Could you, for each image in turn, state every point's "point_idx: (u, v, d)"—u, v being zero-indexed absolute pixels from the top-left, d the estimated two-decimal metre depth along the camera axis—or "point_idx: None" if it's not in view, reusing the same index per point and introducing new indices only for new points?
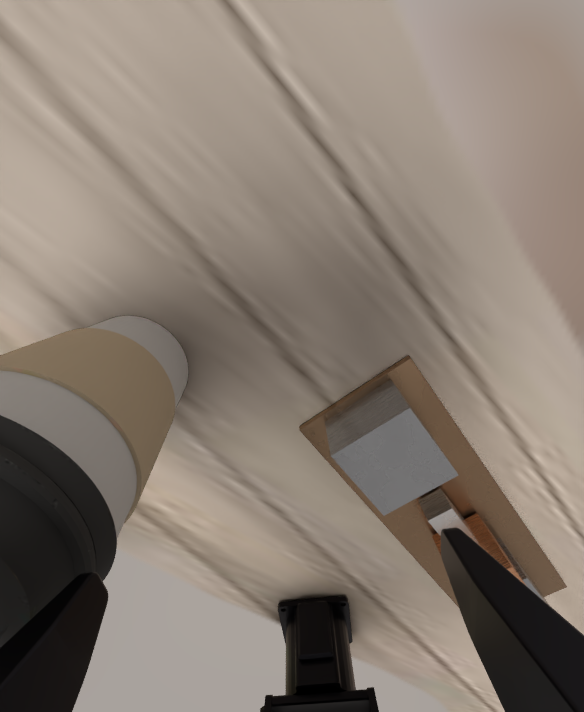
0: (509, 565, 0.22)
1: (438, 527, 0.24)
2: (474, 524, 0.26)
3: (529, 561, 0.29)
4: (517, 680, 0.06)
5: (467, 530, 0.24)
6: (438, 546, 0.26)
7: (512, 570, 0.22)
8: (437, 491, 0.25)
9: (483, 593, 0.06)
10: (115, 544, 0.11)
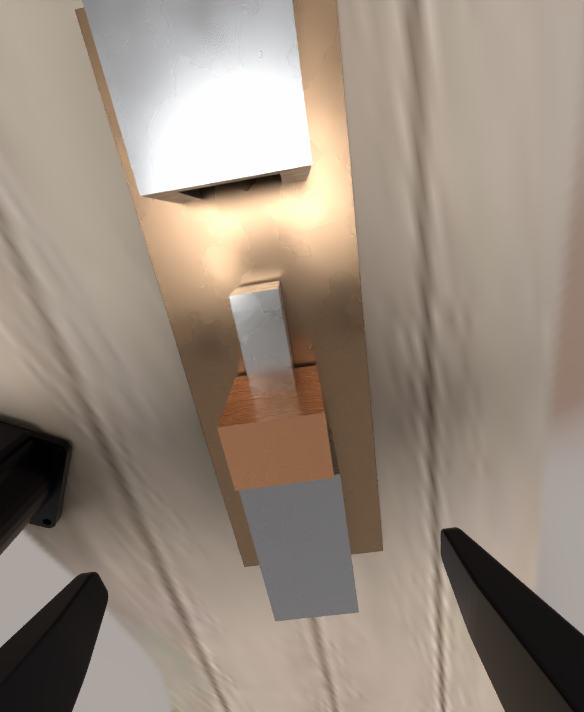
0: (322, 411, 0.12)
1: (242, 320, 0.13)
2: (304, 373, 0.15)
3: (353, 489, 0.19)
4: (517, 680, 0.06)
5: (286, 351, 0.14)
6: (235, 385, 0.15)
7: (323, 421, 0.12)
8: (272, 282, 0.14)
9: (483, 593, 0.06)
10: None
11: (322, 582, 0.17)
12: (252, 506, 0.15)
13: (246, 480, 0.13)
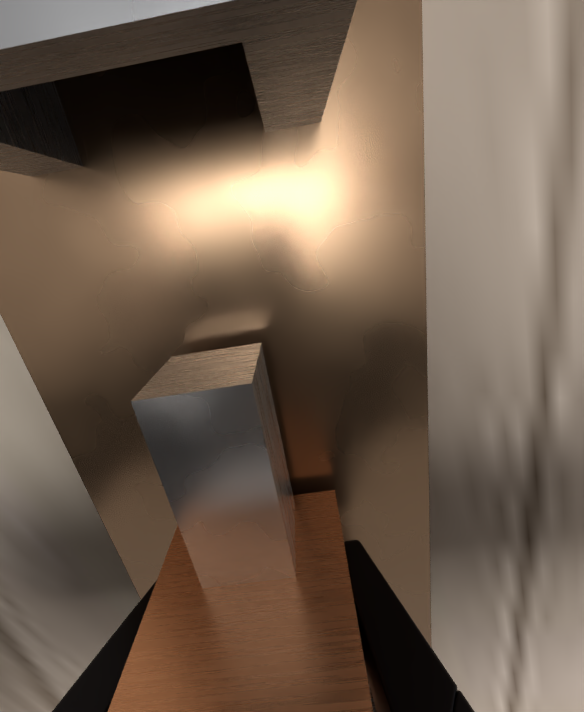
0: None
1: (168, 453, 0.05)
2: (312, 515, 0.08)
3: None
4: (377, 694, 0.06)
5: (275, 512, 0.06)
6: (176, 543, 0.08)
7: None
8: (245, 346, 0.07)
9: (356, 607, 0.06)
10: None
11: None
12: None
13: None
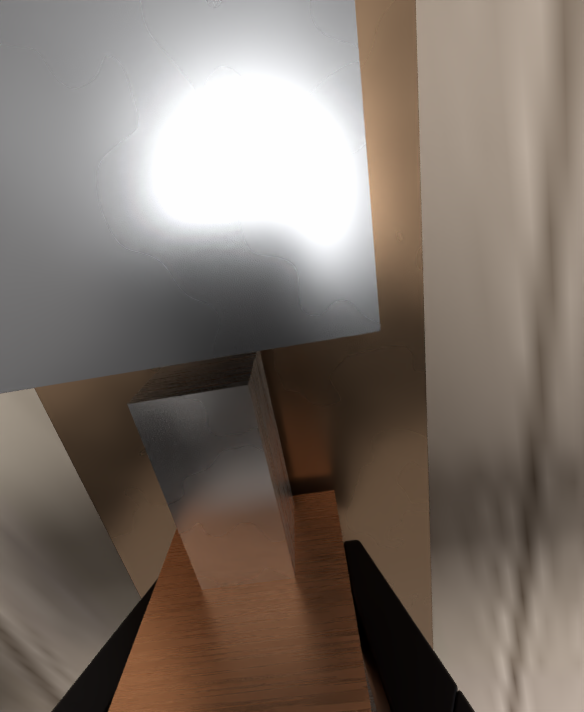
0: None
1: (166, 455, 0.05)
2: (312, 516, 0.08)
3: None
4: (378, 694, 0.06)
5: (274, 513, 0.06)
6: (175, 544, 0.08)
7: None
8: None
9: (357, 607, 0.06)
10: None
11: None
12: None
13: None
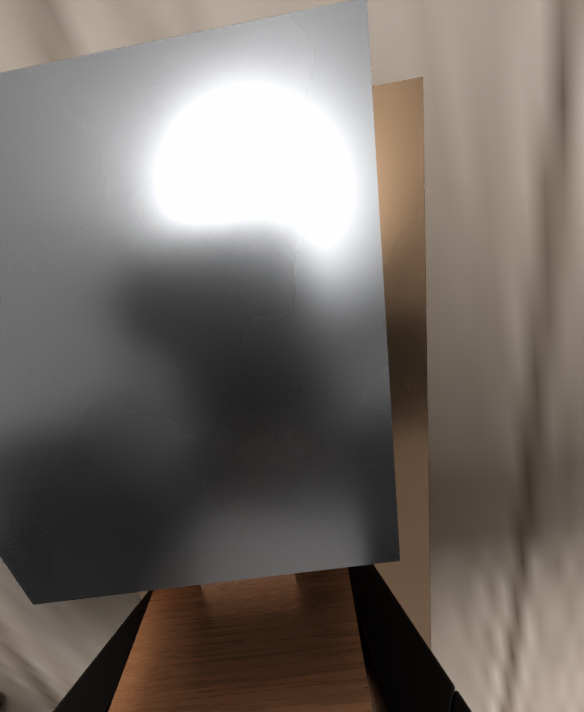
0: None
1: None
2: None
3: None
4: (376, 694, 0.06)
5: None
6: None
7: None
8: None
9: (355, 608, 0.06)
10: None
11: None
12: None
13: None
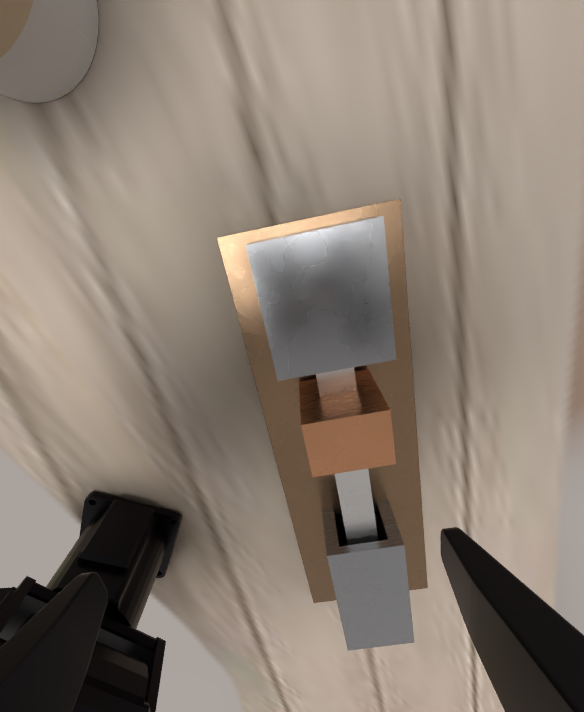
0: (387, 408, 0.15)
1: None
2: (360, 376, 0.18)
3: (404, 542, 0.24)
4: (517, 680, 0.06)
5: None
6: (301, 389, 0.18)
7: (388, 416, 0.15)
8: None
9: (483, 593, 0.06)
10: None
11: (386, 621, 0.22)
12: (336, 569, 0.20)
13: (322, 468, 0.16)
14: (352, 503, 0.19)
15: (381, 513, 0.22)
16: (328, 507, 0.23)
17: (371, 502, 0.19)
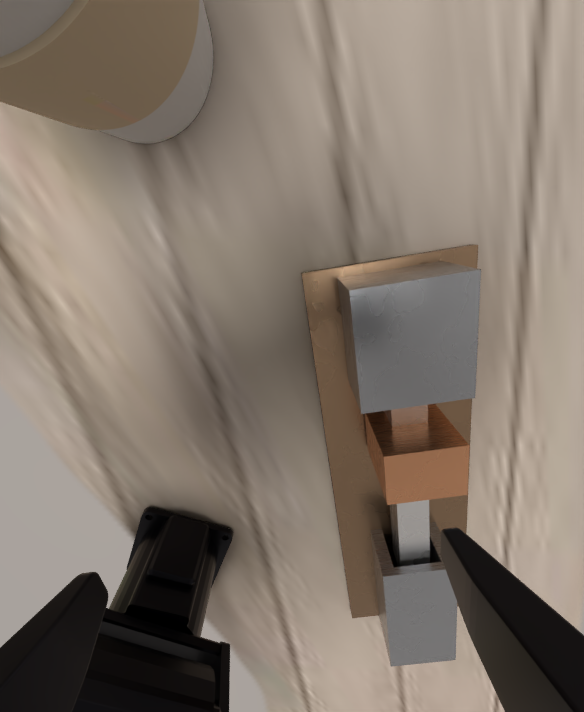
0: (466, 444, 0.16)
1: None
2: None
3: None
4: (517, 680, 0.06)
5: None
6: (370, 418, 0.19)
7: (466, 451, 0.16)
8: None
9: (483, 593, 0.06)
10: None
11: (431, 639, 0.23)
12: (390, 589, 0.21)
13: (398, 497, 0.17)
14: (409, 526, 0.20)
15: (430, 535, 0.23)
16: (377, 527, 0.24)
17: (428, 526, 0.20)
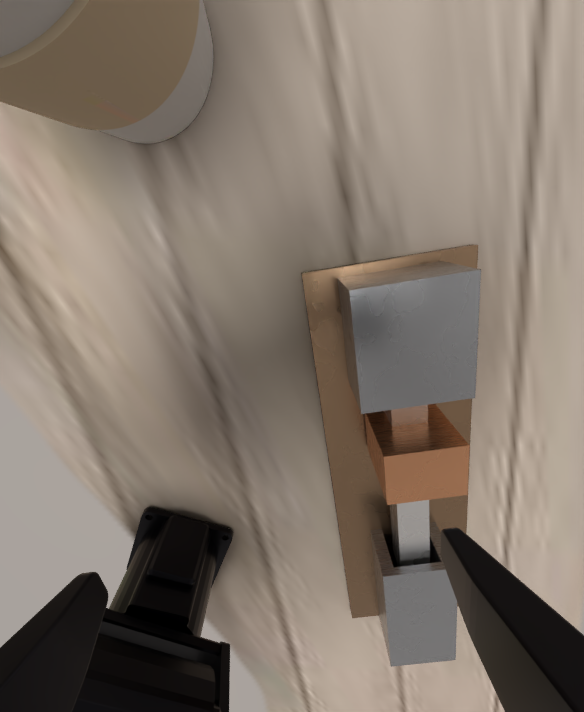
0: (466, 444, 0.16)
1: None
2: None
3: None
4: (517, 680, 0.06)
5: None
6: (370, 418, 0.19)
7: (467, 451, 0.16)
8: None
9: (483, 593, 0.06)
10: None
11: (431, 639, 0.23)
12: (390, 589, 0.21)
13: (398, 497, 0.17)
14: (409, 526, 0.20)
15: (430, 535, 0.23)
16: (377, 527, 0.24)
17: (428, 526, 0.20)
